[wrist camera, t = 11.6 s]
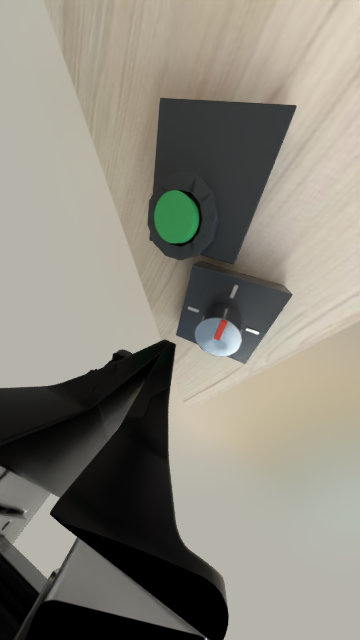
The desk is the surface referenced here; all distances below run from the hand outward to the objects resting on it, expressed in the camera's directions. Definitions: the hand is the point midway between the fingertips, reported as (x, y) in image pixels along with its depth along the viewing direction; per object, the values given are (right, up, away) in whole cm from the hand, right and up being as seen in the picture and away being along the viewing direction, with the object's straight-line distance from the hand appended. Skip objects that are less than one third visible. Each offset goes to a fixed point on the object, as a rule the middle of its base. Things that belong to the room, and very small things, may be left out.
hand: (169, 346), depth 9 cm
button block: (+3, +14, +5) cm, 16 cm away
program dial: (+6, +2, +7) cm, 10 cm away
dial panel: (+7, +3, +10) cm, 12 cm away
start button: (+1, +11, +4) cm, 12 cm away
